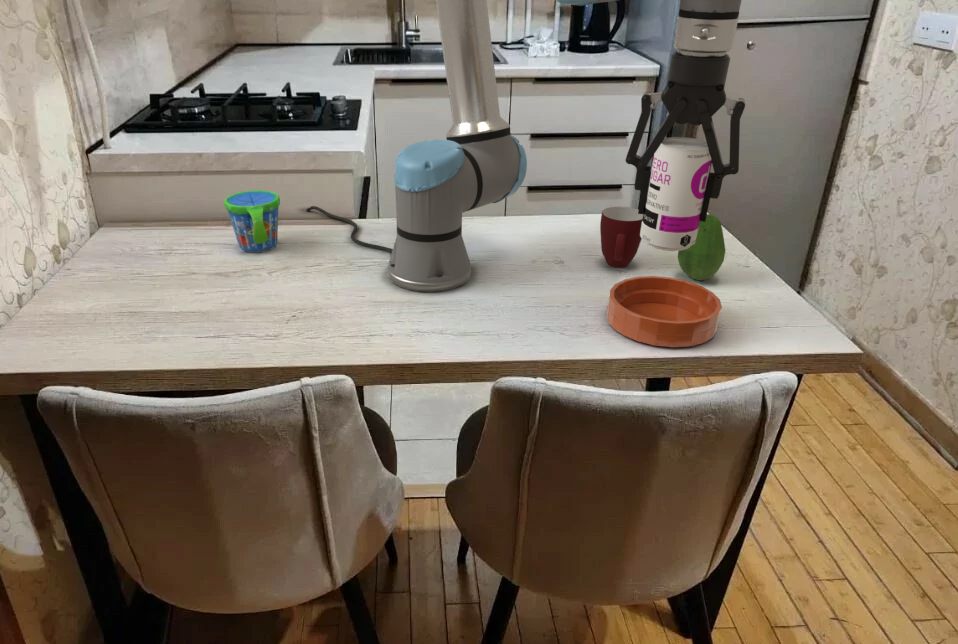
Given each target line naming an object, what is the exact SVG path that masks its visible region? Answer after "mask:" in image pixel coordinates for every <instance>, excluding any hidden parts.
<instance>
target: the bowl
mask: <svg viewBox="0 0 958 644" xmlns="http://www.w3.org/2000/svg"><path fill="white" fill-rule="evenodd" d="M722 309H723V306H722V303H721V299H720V298H719V297H718V296H717V295H716V294H715V293H714V292H713V291H711V290H709V289H708V288H706V287H704V286H702V285H700V284H697V283H694V282H691V281H688V280H685V279H679V278H675V277H669V276H658V275H648V276H635V277H630V278H626V279H623V280H620V281H619V282H616V283H614V285H613V286H612V287H611V288H610V289H609V294H608V302H607V309H606V321H607V322H608V323H609V325H610V326H611V328H613V329H614V330H615V331H616V332H618V333H619V334H621V335H623V336H624V337H627V338H629V339H630V340H633V341H636V342H639V343H643V344H647V345H651V346H656V347H657V346H658V347H666V348H682V347H694V346H696V345H697V346H698V345H701V344H704V343H706V342H708V341H709V340H711V339H713V338H714V336H715V335H716V333H717V331H718V327H719V322H720V319H721V314H722Z"/></svg>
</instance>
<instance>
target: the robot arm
mask: <svg viewBox="0 0 958 644" xmlns="http://www.w3.org/2000/svg"><path fill="white" fill-rule="evenodd" d="M487 1H488V0H435V5H436V13H437V19H438V27H439V33H440V41H441V48H442V55H443V56H442V57H443V62H444V71H445V77H446V83H447V91H448V98H449V105H450V112H451V119H452V124H451V127H450V128H449V130H448V131H447V133H445V137H446V139H432V140H422V141H419V142H415V143H413V144H410V145H408V146H406V147H404V148H403V149H402V150H400V152H399V153H398V154H397V156H396V159H395V170H394V171H395V172H394V177H393V179H394V186H395V187H394V188H395V190H394V191H395V210H396V213H395V215H396V217H395V218H396V236H395V237H396V238H395V241H394V243H393V247H392V248H391V247H388V246H387V247H386V246H383V245H378V244H372V243H369V242H365V241H361V240H359V239H357V238H356V237H355V235H356V233H357V231H358V229H359V228H358V224H357V223H356V222H354V221H353V220H351V219H348V218H346V217H342V216H339V215H335V214H332V213H330V212H329V211H327V210H325V209H323V208H321V207H319V206H317V205H316V206H315V205H310V206H311V207H310V206H308V207H307V208H306V209H305V212H310V211H312V210H315V211H318V212H319V213H321V214H323V215H325V216H327V217H329V218H332V219H334V220H338V221H340V222H341V221H342V222H345V223H348V224H350V225H352V226H353V230H352V231H351V233H350V240H351V241H352V242H354V243H355V244H357V245H359V246H362V247H367V248H371V249H376V250H380V251H385V252H387V253H388V252H389V253H391V254H390V257H389V260H388V264H387V277H388V279H389V281H391V283H392V284H394V285H396V286H397V287H400V288H403V289H405V290H409V291H416V292H426V293H428V292H429V293H431V292H433V293H435V292H445V291H448V290H453V289H457V288H459V287H461V286H463V285H465V284H466V283H467V282H468V281H469V280H470V279H471V276H472V264H471V261H470V258H469V253H468V251H467V248H466V245H465V242H464V238H463V233H462V232H463V213H466V212H469V211H472V210H474V209H477V208H480V207H483V206H487V205H491V204H496V203H499V202H502V201H504V200H505V199H506V198H509V197H511V196H512V195H514V194H515V193H516V192H517V191H518V190H519V189H520V187H521V186H522V185H523V183H524V181H525V179H526V176H527V169H528V159H527V153H526V150H525V148H524V146H523V145H522V144H520V140H519V139H518V138H517V137H516V136H514V135H512V134H511V126H510V125H511V124H509V122H507V121H506V120H505V119H504V118H503V117H502V116H501V113H500V103H499V95H498V94H499V93H498V87H497V79H496V70H495V60H494V54H493V51H494V50H493V43H492V33H491V25H490V19H489V9H488V2H487ZM555 1H556V2H557V3H559V4H562V5H569V6H571V5H572V6H577V7H584V6H589V5H592V4H598V3H607V2H615V1H617V2H618V0H555ZM741 4H742V0H679V9H678V15H677V21H676V26H675V32H674V38H673V45H672V47H673V48H674V49H675V50H676V51H674V52H673V53H672V54H671V57H670V63H669V69H668V75H667V81H666V86H665V87H664V89H663V90H662V91H659V92H651V91H646V92H644V93H643V94H642V96H641V99H640V100H641V101H640V104H641V112H640V115H639V118H638V121H637V124H636V127H635V130H634V134H633V136H632V139H631V141H630V145H629V148H628V150H627V154H626V157H625V164H627V165H631V166H633V167H635V168H636V172H635V173H636V174H635V180H634V190H635V191H641V192H640V199H639V204H638V209H639V211H638V214H643V213H644V207H645V201H646V195H647V189H648V183H649V176H650V169H651V165H648V164H649V163H650V162H651V161H652V157H653V155H654V153H655V152H656V151H657V149H658V147H659V146H660V144H661V143H662V141H663V140H664V138H667V135H669V133H670V131H671V129H672V128H673V126H674V125H675V123H676V125H684V124H690V125H693V126H699V127H700V126H701V128H702V132H703V134H704V138H705V141H706V142H707V146H708V150H709V153H710V156H711V161H712V164H711V166H712V169H713V172H712V171H710V174H709V178H708V183H707V188H706V193H705V198H704V203H703V208H702V212H701V217H700V221H703V222H705V221H706V216H707V214H708V211H709V206H710V201H711V199H716V200H718V198H719V197H720V194H721V189H722V185H723V180H724V178H725V177H727V176H729V175H737V174H738V173H739V169H740V135H741V134H740V132H741V130H740V129H741V118H742V115H743V113H744V111H745V108H746V101H745V99H744V98H743V97H740V98H734V97H729V96H727V94H726V92H725V86H726V81H727V76H728V72H729V67H730V62H731V57H730V55H729V54H727V53H728V52H730V51H732V50H733V47H734V42H735V37H736V33H737V32H736V31H737V29H738V28H737V27H738V22H739V16H740V9H741ZM659 102H662V103H663V106H664V108H665V109H666V111H667V113H668V115H667V116H666V117H665V119H664V121H663V122H662V124H661V125H660V127H659V128H658V130H657V132H656V133H655V135H654V136H653V138H652V140H651V141H650V142H649V144H648V146H647V147H646V149H645V150H644V152H643V154H642V155H641V156H640V155H638V152H639V148H640V146H641V143H642V140H643V137H644V134H645V130H646V128H647V125H648V122H649V120H650V116H651V114H652V111H653V110H655V109H657V106H658V103H659ZM723 106H724V107H726V114H727V116H730V118H729V119H730V120H729V121H730V123H729V163H725V164H724V161H723V158H722V153H721V150H720V149H721V148H720V145H719V142H718V138H717V134H716V130H715V127H714V121H713V118H712V117H713V116H714V115H716V113H717V112H718V111H719V110H720V109H721V108H722V107H723ZM309 207H310V208H309Z"/></svg>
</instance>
